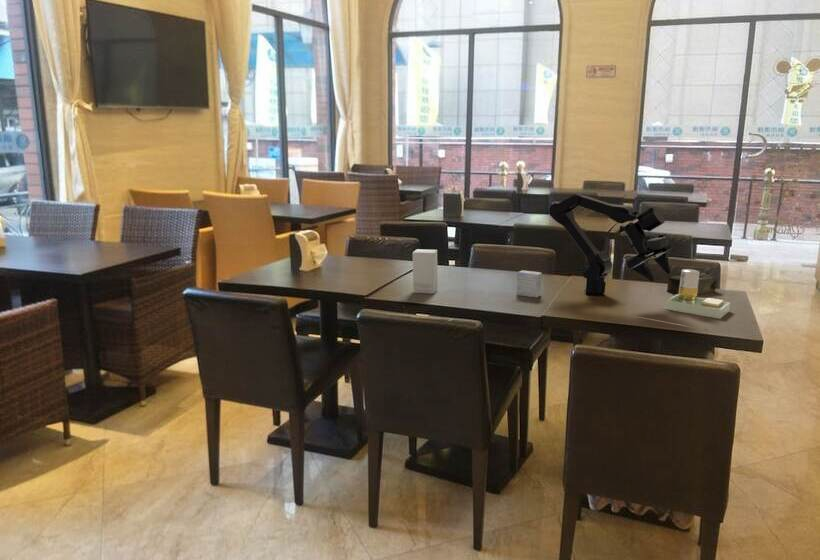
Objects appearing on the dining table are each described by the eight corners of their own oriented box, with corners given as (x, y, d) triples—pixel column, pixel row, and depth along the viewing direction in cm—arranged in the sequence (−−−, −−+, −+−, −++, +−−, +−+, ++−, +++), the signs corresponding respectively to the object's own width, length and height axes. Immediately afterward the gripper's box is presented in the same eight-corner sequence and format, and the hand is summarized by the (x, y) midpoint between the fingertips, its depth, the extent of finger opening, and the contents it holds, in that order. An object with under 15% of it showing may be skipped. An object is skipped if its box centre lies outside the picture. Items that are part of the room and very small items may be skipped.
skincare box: (437, 290, 241) (438, 249, 237) (433, 294, 235) (434, 252, 231) (416, 288, 243) (416, 248, 239) (411, 292, 237) (412, 251, 233)
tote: (665, 310, 218) (666, 300, 217) (676, 303, 226) (677, 294, 225) (720, 320, 207) (721, 309, 207) (728, 312, 216) (730, 302, 215)
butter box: (700, 313, 213) (701, 301, 212) (706, 308, 218) (707, 297, 217) (716, 316, 210) (718, 304, 209) (722, 311, 215) (723, 300, 214)
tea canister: (684, 311, 215) (689, 273, 212) (673, 306, 221) (677, 269, 218) (699, 309, 217) (703, 272, 214) (687, 305, 222) (691, 268, 219)
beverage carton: (716, 292, 244) (718, 275, 243) (683, 298, 235) (685, 280, 233) (698, 287, 251) (700, 271, 249) (665, 293, 242) (667, 276, 240)
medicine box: (540, 295, 235) (542, 272, 233) (536, 298, 232) (538, 274, 230) (520, 292, 239) (521, 269, 237) (516, 295, 235) (517, 272, 233)
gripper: (637, 234, 213) (662, 275, 210) (671, 221, 223) (694, 260, 220) (615, 249, 222) (638, 288, 219) (648, 235, 232) (670, 273, 229)
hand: (661, 277), depth 221 cm, fingers open, 9 cm apart
